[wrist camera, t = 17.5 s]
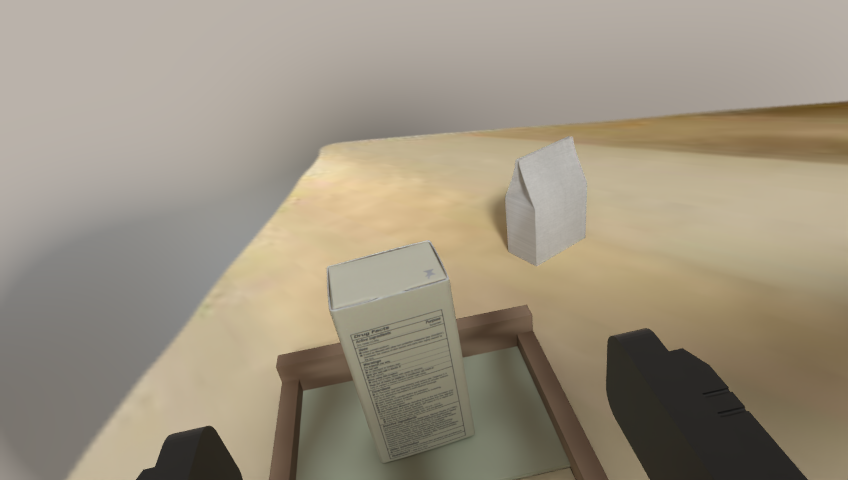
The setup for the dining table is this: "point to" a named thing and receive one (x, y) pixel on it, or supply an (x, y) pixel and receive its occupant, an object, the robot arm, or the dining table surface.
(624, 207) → the dining table surface
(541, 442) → the frame
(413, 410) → the skincare box
